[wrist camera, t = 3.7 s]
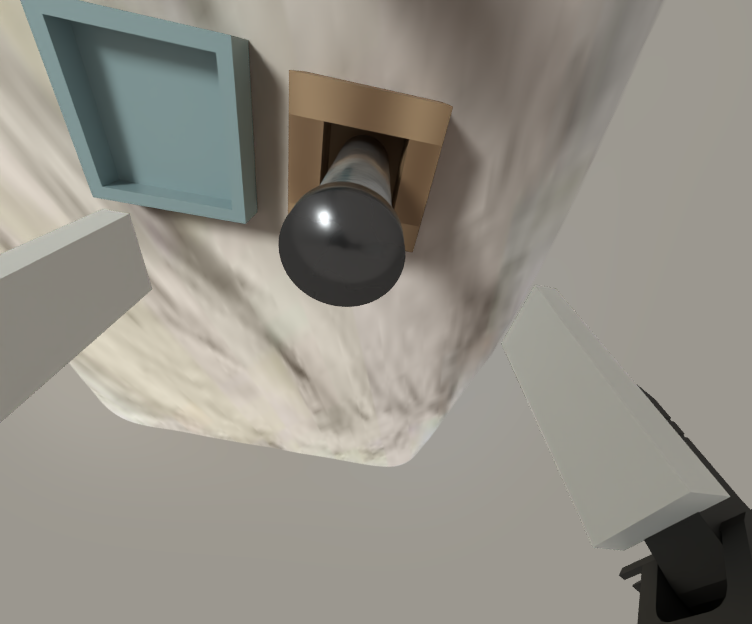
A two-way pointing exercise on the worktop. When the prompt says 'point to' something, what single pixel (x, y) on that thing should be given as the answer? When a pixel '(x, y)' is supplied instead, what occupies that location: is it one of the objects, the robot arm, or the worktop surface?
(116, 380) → the worktop surface
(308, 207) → the steel pin
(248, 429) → the worktop surface
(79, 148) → the tray
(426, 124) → the socket block
